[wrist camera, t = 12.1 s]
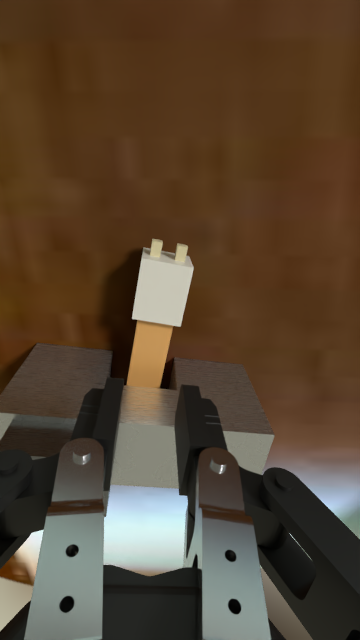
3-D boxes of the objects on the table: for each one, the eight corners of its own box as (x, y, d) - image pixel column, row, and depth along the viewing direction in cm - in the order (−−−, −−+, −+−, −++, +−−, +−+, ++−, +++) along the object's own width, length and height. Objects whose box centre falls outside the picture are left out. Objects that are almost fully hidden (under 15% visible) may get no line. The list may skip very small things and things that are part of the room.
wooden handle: (147, 448, 37) (146, 477, 34) (111, 444, 37) (106, 473, 33) (192, 242, 29) (197, 252, 25) (145, 233, 28) (144, 242, 25)
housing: (229, 412, 36) (266, 528, 24) (37, 395, 34) (-27, 515, 22) (242, 364, 34) (289, 467, 22) (37, 342, 31) (-36, 445, 20)
